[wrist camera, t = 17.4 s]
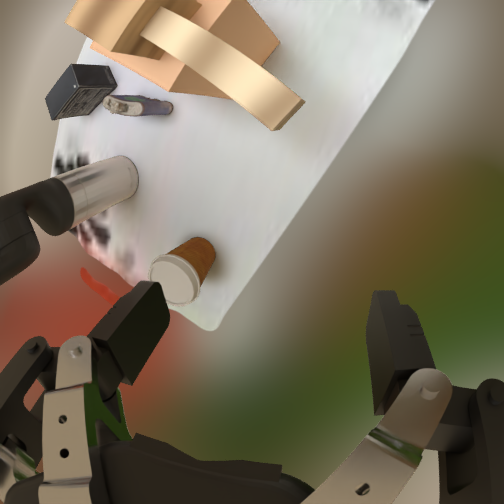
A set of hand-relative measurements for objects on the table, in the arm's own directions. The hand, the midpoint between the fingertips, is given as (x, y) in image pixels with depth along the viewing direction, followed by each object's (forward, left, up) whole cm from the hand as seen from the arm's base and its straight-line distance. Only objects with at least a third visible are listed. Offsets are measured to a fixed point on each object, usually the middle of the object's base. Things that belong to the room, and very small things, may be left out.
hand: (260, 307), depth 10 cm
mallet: (-9, +15, -16) cm, 23 cm away
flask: (-28, +12, -36) cm, 47 cm away
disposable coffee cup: (-22, -17, -36) cm, 45 cm away
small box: (-42, +19, -36) cm, 59 cm away
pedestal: (-14, +20, -36) cm, 43 cm away
